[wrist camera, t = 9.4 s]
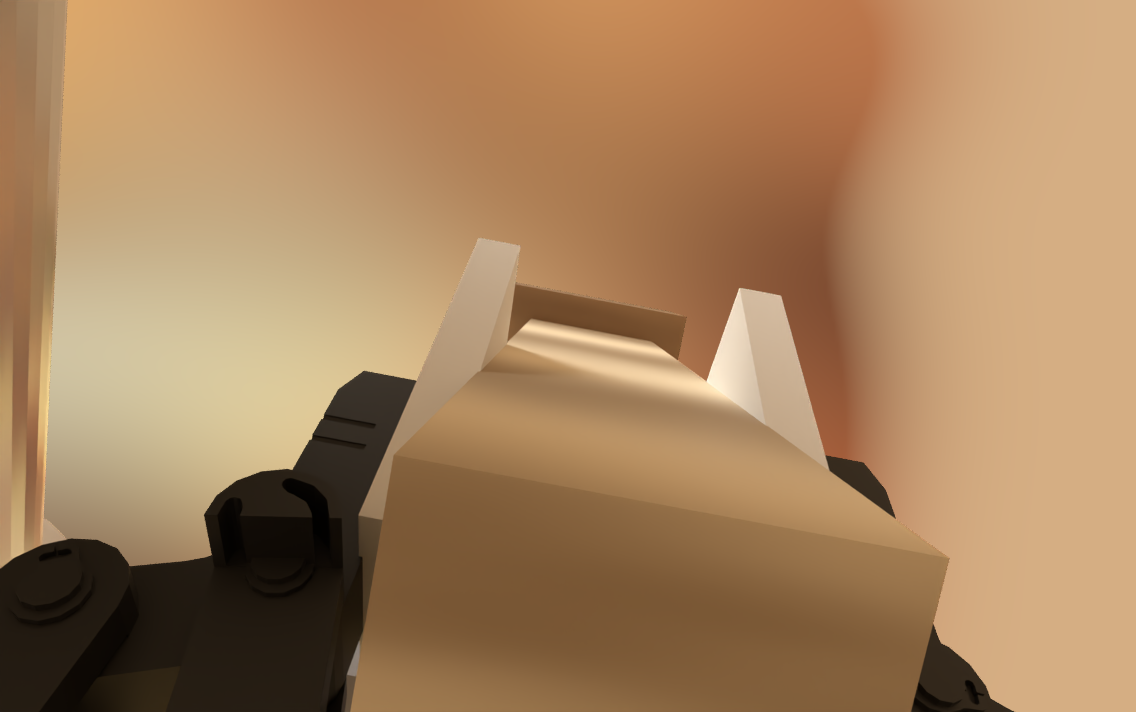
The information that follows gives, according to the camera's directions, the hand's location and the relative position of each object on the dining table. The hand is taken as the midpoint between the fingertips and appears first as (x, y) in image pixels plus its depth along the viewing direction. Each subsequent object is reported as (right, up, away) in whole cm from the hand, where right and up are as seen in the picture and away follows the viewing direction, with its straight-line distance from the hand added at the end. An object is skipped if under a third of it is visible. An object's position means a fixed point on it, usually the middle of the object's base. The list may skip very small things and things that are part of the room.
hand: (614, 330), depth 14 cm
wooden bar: (-1, -4, +3) cm, 6 cm away
